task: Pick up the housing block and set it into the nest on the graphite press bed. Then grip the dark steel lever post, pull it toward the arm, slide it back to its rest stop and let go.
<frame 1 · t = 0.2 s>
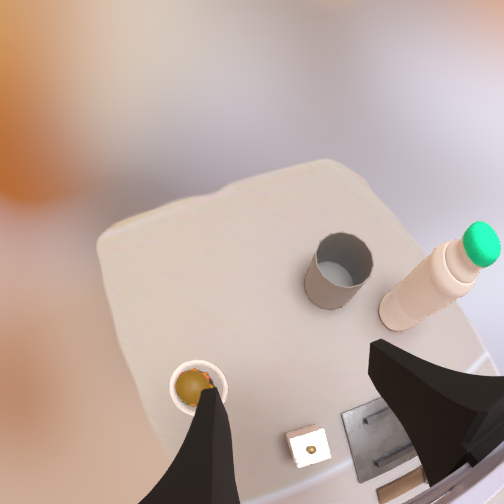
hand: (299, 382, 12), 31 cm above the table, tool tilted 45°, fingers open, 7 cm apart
burger on plate: (199, 388, 40), on the table
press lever: (442, 473, 26), point 5 cm above the table, slide at 0.0 cm
cup: (328, 285, 46), on the table
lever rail: (411, 478, 29), on the table
press bed: (387, 433, 34), on the table
housing: (303, 441, 35), on the table
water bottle: (395, 312, 44), on the table
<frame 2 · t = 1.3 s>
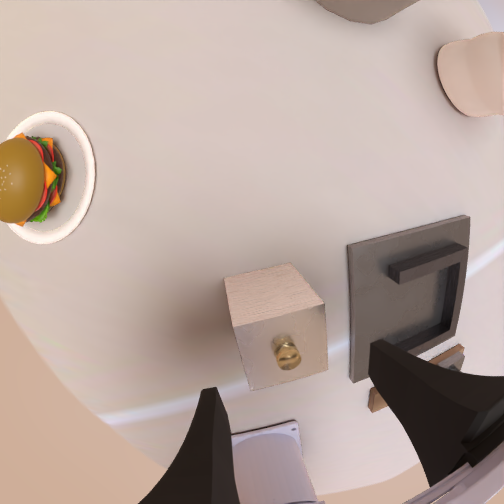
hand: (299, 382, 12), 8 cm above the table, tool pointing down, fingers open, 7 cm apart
burger on plate: (47, 176, 15), on the table
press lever: (462, 385, 22), point 5 cm above the table, slide at 0.0 cm
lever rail: (418, 375, 26), on the table
press bed: (413, 299, 22), on the table
housing: (263, 299, 20), on the table
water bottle: (457, 80, 17), on the table
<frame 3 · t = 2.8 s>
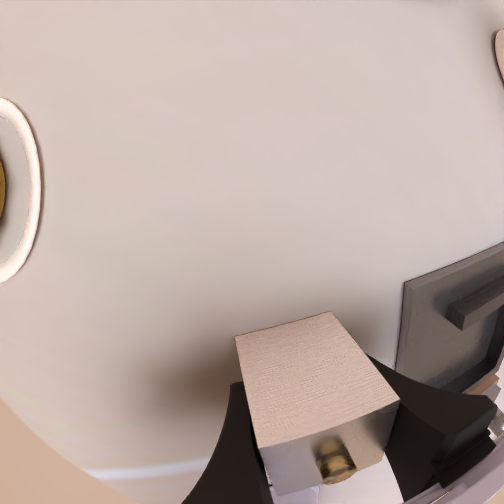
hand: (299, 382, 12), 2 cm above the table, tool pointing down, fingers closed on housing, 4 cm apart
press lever: (496, 420, 16), point 5 cm above the table, slide at 0.0 cm
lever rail: (450, 412, 20), on the table
press bed: (463, 337, 16), on the table
housing: (289, 361, 13), on the table, touching gripper
when the fingers open (4 cm above the table, at t = 6.1 s): housing stays where it is, resting on press bed.
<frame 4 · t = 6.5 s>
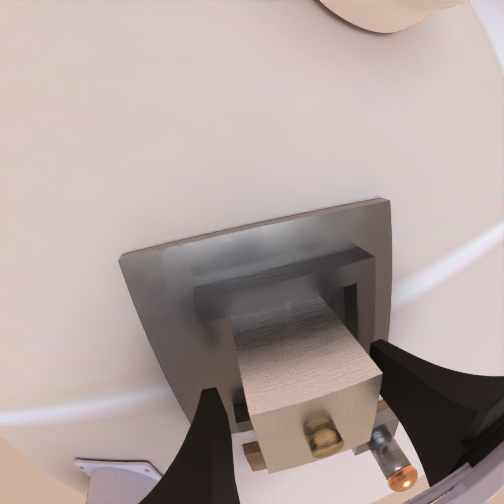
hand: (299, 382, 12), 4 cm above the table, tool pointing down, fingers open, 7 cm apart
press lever: (389, 456, 15), point 5 cm above the table, slide at 0.0 cm
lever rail: (326, 432, 19), on the table
press bed: (280, 338, 15), on the table
housing: (282, 344, 14), point 1 cm above the table, touching press bed
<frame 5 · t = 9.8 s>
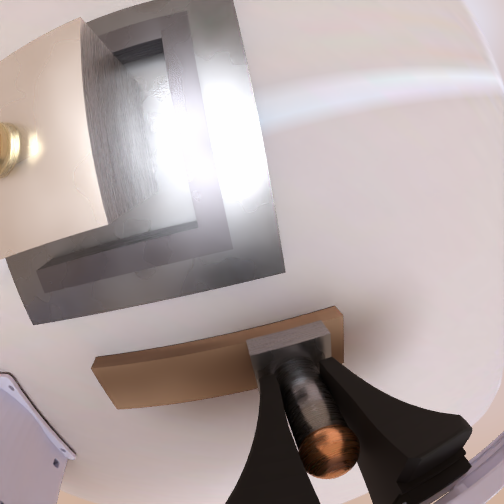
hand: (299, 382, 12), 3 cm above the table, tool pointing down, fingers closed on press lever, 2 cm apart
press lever: (310, 408, 10), point 5 cm above the table, slide at 0.0 cm, touching gripper
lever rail: (217, 361, 14), on the table
press bed: (102, 156, 10), on the table
housing: (94, 152, 9), point 1 cm above the table, touching press bed
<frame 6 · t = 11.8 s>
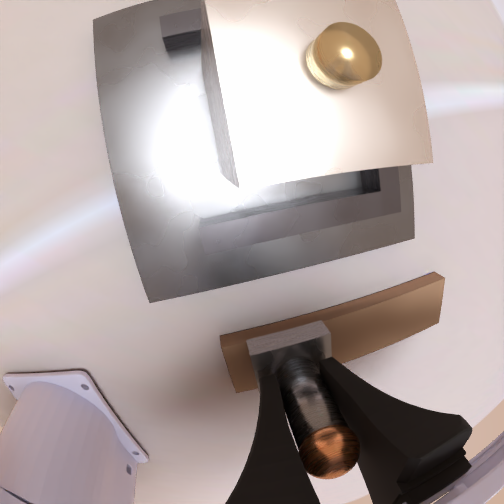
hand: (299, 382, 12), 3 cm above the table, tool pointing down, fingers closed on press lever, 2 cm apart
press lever: (310, 408, 10), point 5 cm above the table, slide at 7.0 cm, touching gripper
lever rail: (344, 327, 15), on the table
press bed: (266, 117, 11), on the table
housing: (269, 109, 10), point 1 cm above the table, touching press bed
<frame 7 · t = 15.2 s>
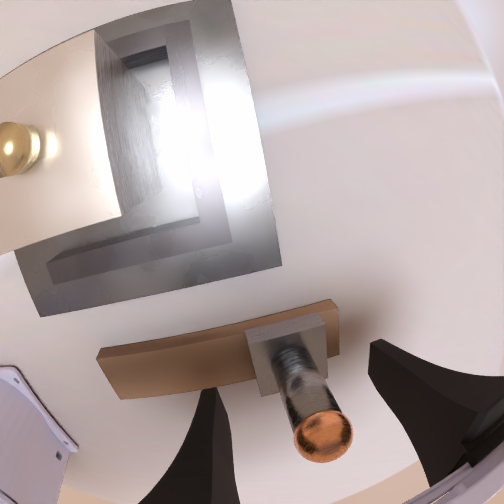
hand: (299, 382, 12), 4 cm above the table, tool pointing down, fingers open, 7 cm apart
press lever: (305, 395, 11), point 5 cm above the table, slide at 0.0 cm
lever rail: (218, 352, 15), on the table
press bed: (110, 156, 11), on the table
housing: (102, 151, 10), point 1 cm above the table, touching press bed
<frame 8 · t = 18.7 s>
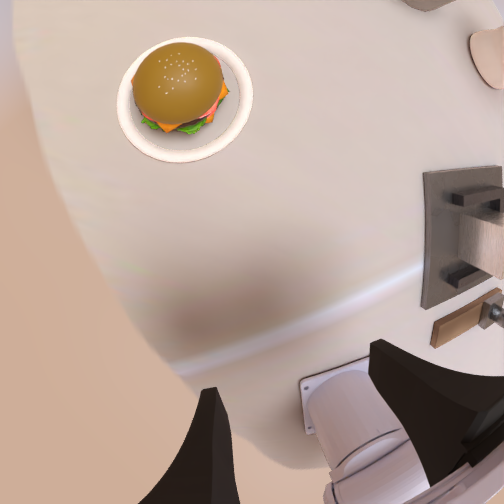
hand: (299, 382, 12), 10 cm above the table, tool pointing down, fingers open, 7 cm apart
burger on plate: (184, 99, 17), on the table
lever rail: (467, 314, 27), on the table
press bed: (466, 231, 23), on the table
housing: (472, 231, 22), point 1 cm above the table, touching press bed
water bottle: (483, 61, 18), on the table
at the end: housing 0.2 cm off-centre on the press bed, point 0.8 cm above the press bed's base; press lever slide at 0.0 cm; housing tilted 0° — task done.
